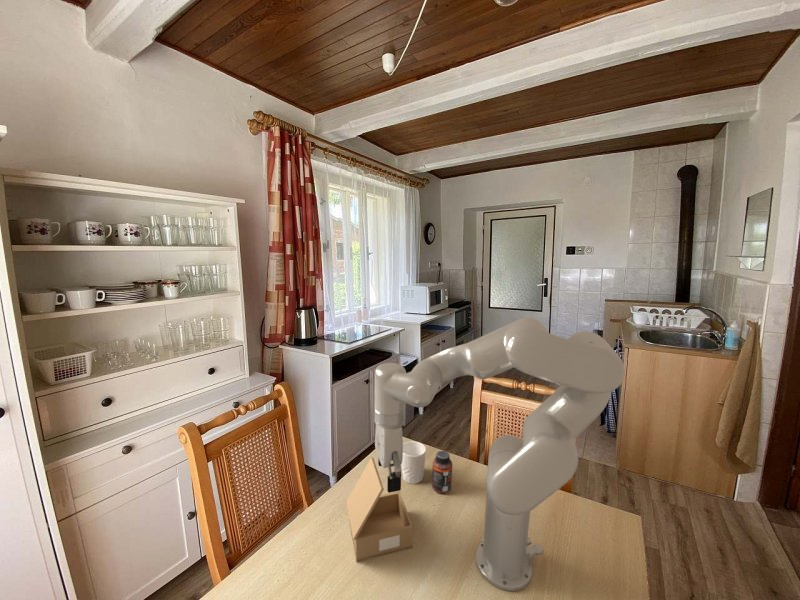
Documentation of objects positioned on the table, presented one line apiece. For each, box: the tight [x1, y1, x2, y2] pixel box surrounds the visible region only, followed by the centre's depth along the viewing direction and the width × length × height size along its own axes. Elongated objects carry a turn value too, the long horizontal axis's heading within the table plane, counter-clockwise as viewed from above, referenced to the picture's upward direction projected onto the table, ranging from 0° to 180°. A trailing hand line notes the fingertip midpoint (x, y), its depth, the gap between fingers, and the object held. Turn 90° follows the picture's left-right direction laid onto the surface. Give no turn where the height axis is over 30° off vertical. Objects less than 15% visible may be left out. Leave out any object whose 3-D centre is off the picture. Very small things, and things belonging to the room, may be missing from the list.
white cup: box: [401, 440, 427, 485], centre depth 108 cm, size 8×8×10 cm
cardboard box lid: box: [346, 457, 385, 540], centre depth 84 cm, size 14×12×1 cm
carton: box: [348, 491, 414, 563], centre depth 87 cm, size 14×12×6 cm
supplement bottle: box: [431, 450, 453, 495], centre depth 103 cm, size 6×6×11 cm
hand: (389, 477), depth 85 cm, fingers open, 9 cm apart
